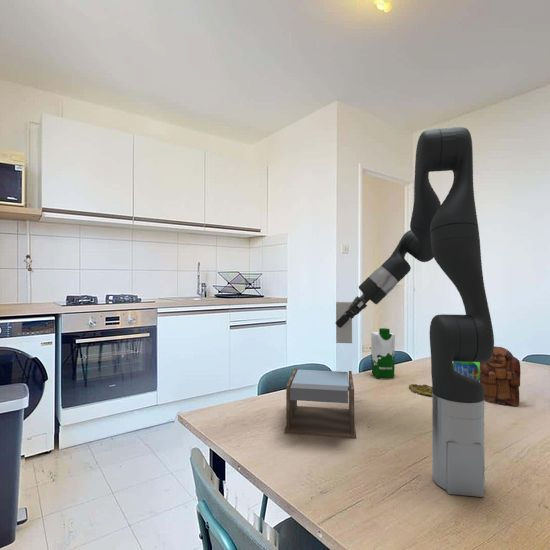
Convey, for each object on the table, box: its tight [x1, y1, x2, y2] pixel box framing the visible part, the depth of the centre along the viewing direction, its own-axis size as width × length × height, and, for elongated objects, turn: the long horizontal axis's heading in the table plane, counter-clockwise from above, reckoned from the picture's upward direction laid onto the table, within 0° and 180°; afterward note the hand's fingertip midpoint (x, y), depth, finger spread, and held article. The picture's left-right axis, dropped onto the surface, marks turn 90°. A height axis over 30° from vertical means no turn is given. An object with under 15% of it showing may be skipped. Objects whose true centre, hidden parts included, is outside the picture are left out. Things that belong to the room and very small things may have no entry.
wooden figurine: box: [479, 345, 521, 407], centre depth 119 cm, size 12×6×18 cm, turn 52°
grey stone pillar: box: [335, 301, 353, 344], centre depth 109 cm, size 5×5×12 cm
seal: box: [408, 383, 432, 398], centre depth 128 cm, size 9×5×15 cm
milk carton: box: [370, 327, 396, 380], centre depth 149 cm, size 9×9×20 cm
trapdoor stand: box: [284, 367, 357, 439], centre depth 102 cm, size 18×18×12 cm
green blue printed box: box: [453, 361, 481, 382], centre depth 139 cm, size 16×10×10 cm
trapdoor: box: [290, 369, 349, 404], centre depth 99 cm, size 22×15×3 cm
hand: (337, 324), depth 109 cm, fingers closed on grey stone pillar, 5 cm apart
